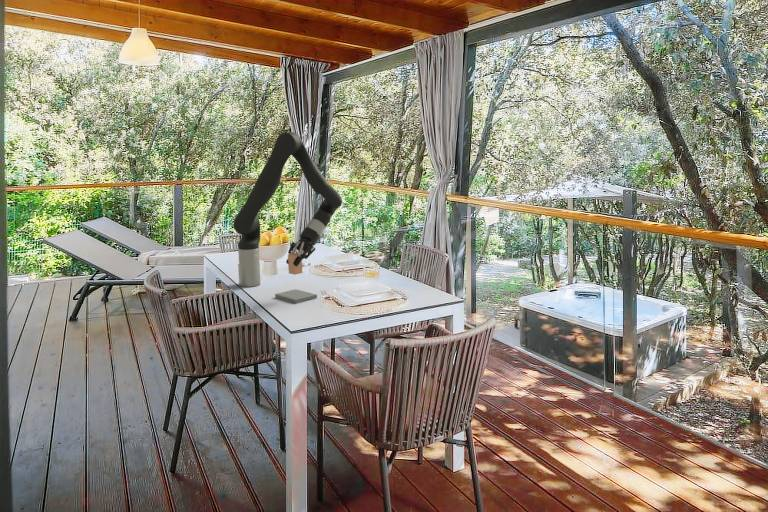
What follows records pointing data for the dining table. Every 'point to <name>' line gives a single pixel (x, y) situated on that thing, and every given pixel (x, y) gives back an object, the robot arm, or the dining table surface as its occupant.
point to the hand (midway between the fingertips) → (291, 264)
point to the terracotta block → (292, 267)
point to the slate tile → (296, 296)
